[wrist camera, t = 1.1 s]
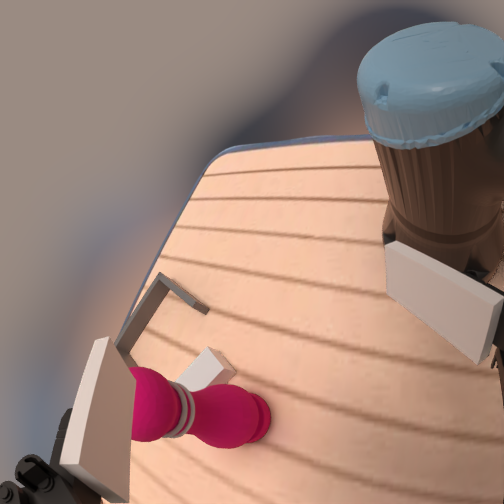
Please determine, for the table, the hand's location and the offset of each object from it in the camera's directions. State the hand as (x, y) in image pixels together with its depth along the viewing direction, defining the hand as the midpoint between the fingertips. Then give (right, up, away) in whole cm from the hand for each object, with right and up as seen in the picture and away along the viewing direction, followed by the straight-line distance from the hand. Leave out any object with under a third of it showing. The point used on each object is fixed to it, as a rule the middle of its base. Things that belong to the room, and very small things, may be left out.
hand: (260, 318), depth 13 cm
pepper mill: (-1, -16, +18) cm, 24 cm away
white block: (-6, -14, +23) cm, 28 cm away
